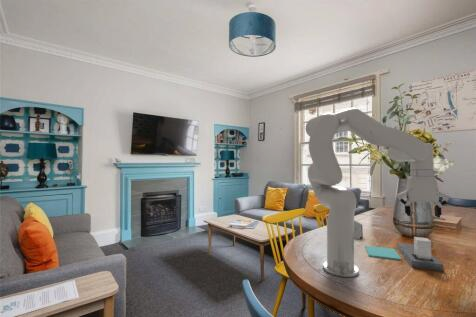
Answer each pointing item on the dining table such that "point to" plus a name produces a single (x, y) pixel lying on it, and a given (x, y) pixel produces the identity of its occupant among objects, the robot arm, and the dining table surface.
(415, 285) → the dining table surface
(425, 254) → the steel block
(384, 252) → the mat
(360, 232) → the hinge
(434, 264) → the slotted plate
